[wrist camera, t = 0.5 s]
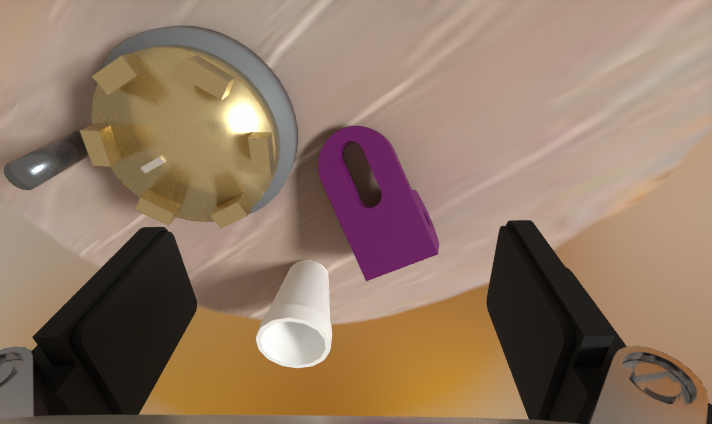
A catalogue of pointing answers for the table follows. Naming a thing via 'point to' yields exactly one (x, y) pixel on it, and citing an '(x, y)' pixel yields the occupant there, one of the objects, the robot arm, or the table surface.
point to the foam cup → (298, 318)
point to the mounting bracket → (386, 220)
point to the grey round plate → (249, 67)
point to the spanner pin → (46, 162)
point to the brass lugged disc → (183, 134)
